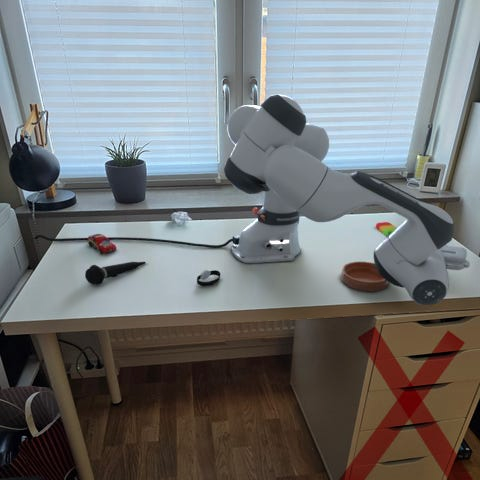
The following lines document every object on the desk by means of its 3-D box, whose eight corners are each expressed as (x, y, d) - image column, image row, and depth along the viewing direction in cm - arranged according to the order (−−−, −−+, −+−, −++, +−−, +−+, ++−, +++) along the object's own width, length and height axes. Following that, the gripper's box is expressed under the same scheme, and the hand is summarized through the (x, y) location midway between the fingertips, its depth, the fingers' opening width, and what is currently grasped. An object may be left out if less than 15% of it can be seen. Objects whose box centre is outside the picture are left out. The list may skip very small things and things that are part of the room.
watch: (214, 275, 130) (214, 264, 128) (224, 281, 127) (224, 270, 125) (193, 283, 126) (192, 272, 124) (203, 289, 123) (202, 278, 121)
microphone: (141, 271, 138) (84, 287, 125) (137, 253, 137) (79, 267, 123) (152, 271, 135) (94, 287, 121) (148, 253, 133) (89, 266, 119)
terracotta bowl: (356, 294, 121) (358, 285, 119) (332, 274, 132) (334, 265, 130) (397, 287, 125) (399, 278, 123) (371, 268, 135) (372, 259, 134)
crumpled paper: (192, 214, 163) (174, 215, 161) (191, 225, 165) (174, 226, 163) (186, 207, 169) (169, 208, 167) (186, 218, 171) (169, 219, 169)
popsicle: (387, 226, 165) (388, 221, 164) (410, 241, 153) (411, 236, 152) (374, 227, 164) (375, 222, 163) (396, 243, 152) (397, 238, 151)
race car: (119, 253, 143) (117, 241, 141) (103, 257, 140) (101, 245, 138) (101, 240, 152) (100, 229, 150) (86, 244, 149) (84, 233, 147)
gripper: (474, 256, 105) (466, 235, 116) (385, 246, 110) (385, 227, 121) (466, 280, 108) (459, 257, 120) (380, 269, 113) (381, 248, 124)
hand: (422, 242), depth 120 cm, fingers open, 8 cm apart
